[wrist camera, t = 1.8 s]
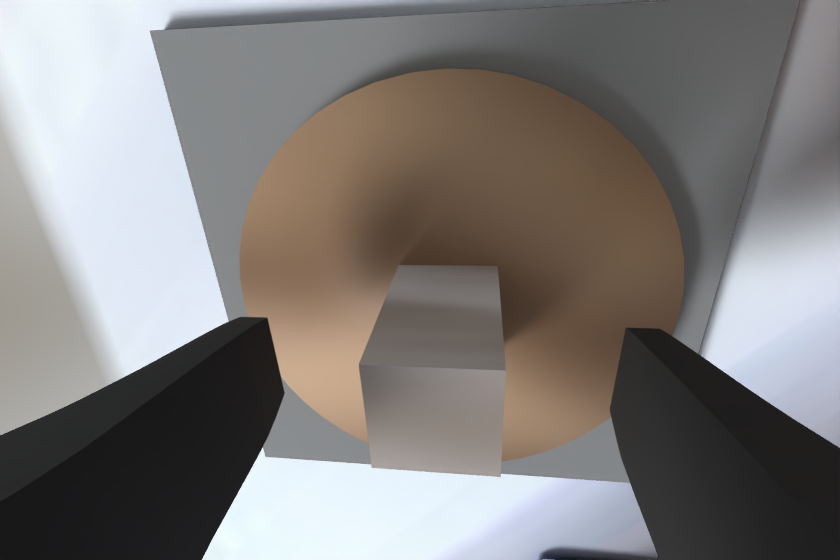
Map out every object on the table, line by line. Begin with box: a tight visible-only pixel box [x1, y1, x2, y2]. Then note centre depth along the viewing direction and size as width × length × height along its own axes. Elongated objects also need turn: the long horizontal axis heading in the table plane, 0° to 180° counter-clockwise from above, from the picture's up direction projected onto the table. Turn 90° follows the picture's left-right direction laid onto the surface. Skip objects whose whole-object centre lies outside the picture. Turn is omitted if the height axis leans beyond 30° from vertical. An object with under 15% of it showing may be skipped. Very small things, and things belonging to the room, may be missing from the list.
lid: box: [239, 68, 684, 477], centre depth 10 cm, size 11×11×5 cm
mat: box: [150, 0, 800, 483], centre depth 12 cm, size 13×13×1 cm
